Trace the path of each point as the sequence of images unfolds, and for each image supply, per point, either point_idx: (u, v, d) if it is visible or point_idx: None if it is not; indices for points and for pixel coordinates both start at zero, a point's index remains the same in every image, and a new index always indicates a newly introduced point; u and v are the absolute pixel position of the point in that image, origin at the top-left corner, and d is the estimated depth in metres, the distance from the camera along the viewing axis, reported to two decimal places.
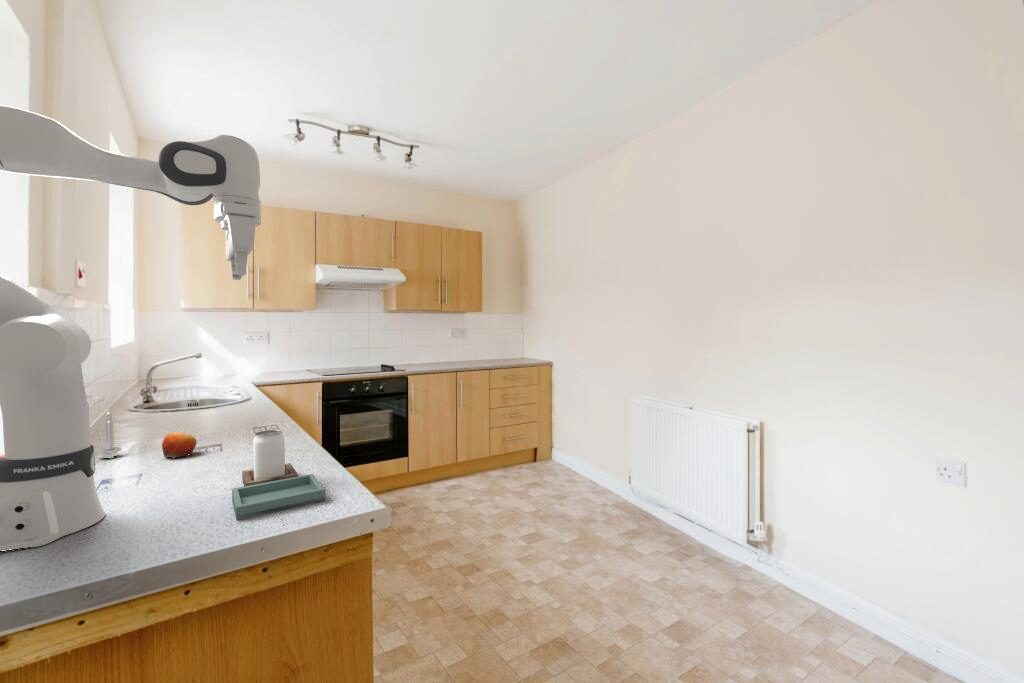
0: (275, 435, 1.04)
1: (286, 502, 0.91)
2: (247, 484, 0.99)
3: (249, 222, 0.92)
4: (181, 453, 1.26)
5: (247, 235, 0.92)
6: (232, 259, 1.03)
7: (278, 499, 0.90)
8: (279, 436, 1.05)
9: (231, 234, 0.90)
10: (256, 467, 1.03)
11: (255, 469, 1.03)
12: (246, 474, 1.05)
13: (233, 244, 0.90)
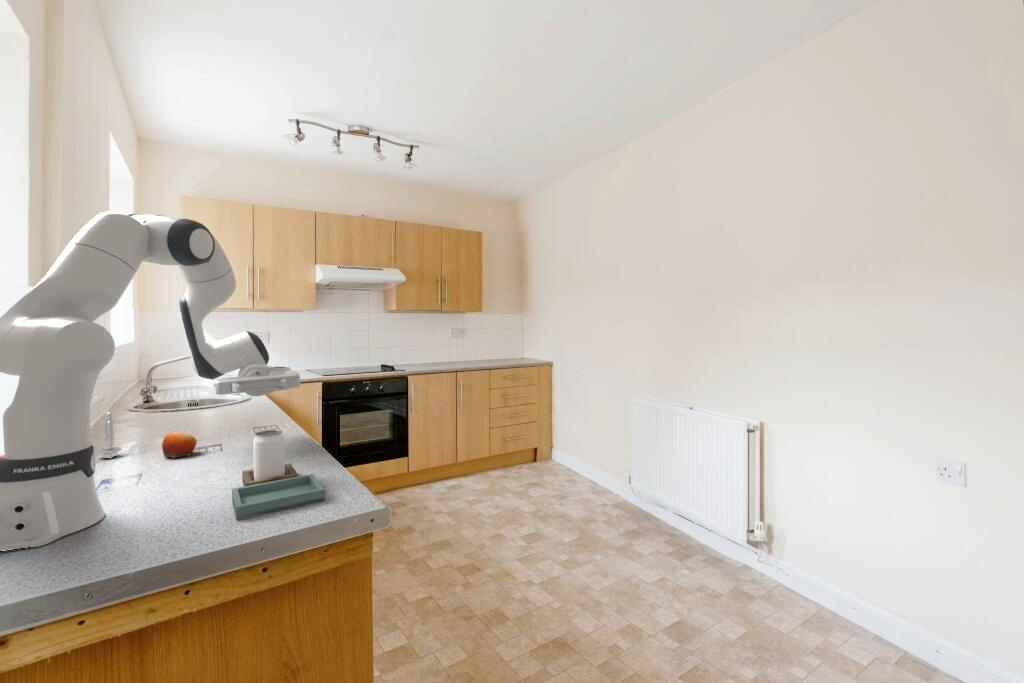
0: (275, 435, 1.04)
1: (286, 502, 0.91)
2: (247, 484, 0.99)
3: None
4: (181, 453, 1.26)
5: None
6: (237, 383, 1.18)
7: (278, 499, 0.90)
8: (279, 436, 1.05)
9: (297, 373, 1.29)
10: (256, 467, 1.03)
11: (255, 469, 1.03)
12: (246, 474, 1.05)
13: (298, 374, 1.27)
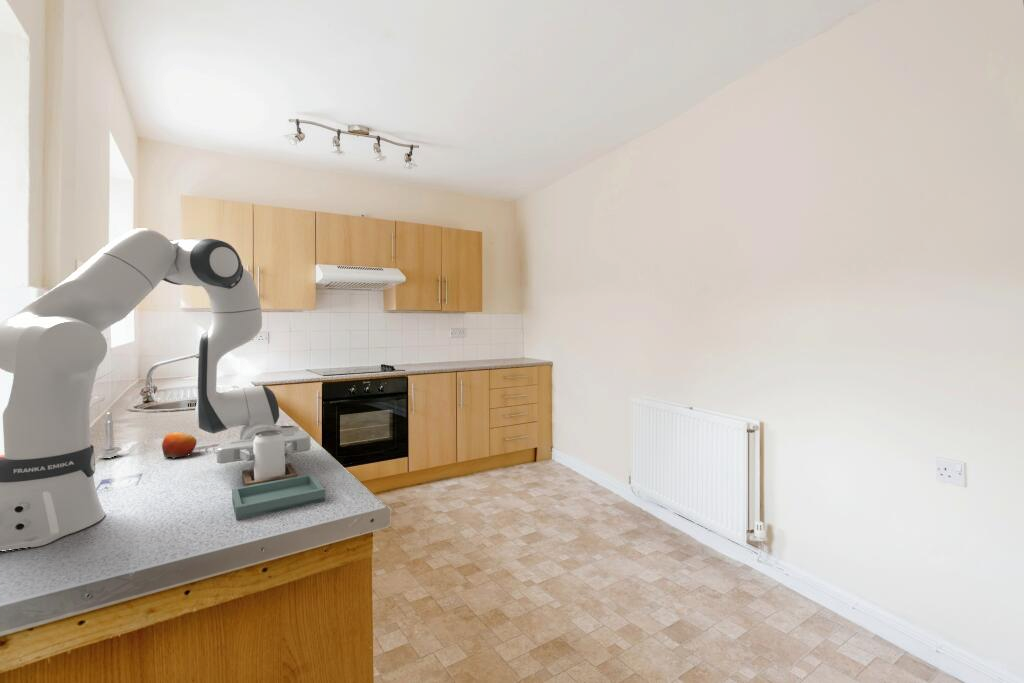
0: (275, 435, 1.04)
1: (286, 502, 0.91)
2: (247, 484, 0.99)
3: None
4: (181, 453, 1.26)
5: None
6: (246, 449, 1.06)
7: (278, 499, 0.90)
8: (279, 435, 1.05)
9: None
10: (256, 467, 1.03)
11: (255, 469, 1.03)
12: (246, 474, 1.05)
13: (309, 436, 1.15)
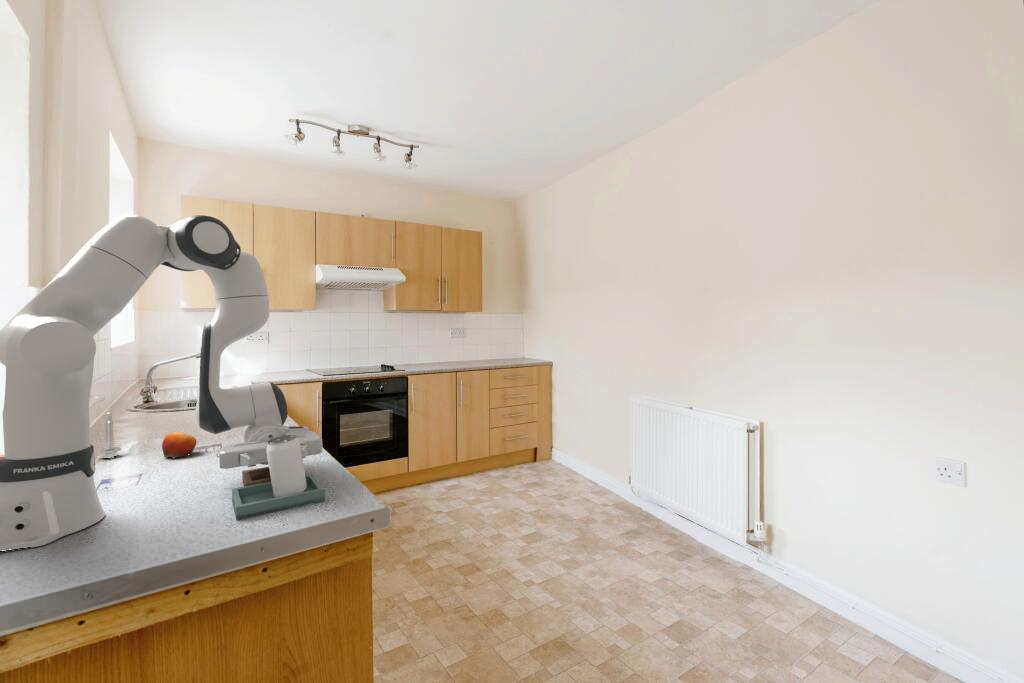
0: (291, 440, 0.94)
1: (286, 502, 0.91)
2: (247, 484, 0.99)
3: None
4: (181, 453, 1.26)
5: None
6: (247, 454, 0.95)
7: (278, 499, 0.90)
8: (295, 440, 0.95)
9: (318, 435, 1.06)
10: (275, 478, 0.93)
11: (274, 480, 0.93)
12: (246, 474, 1.05)
13: (320, 438, 1.04)
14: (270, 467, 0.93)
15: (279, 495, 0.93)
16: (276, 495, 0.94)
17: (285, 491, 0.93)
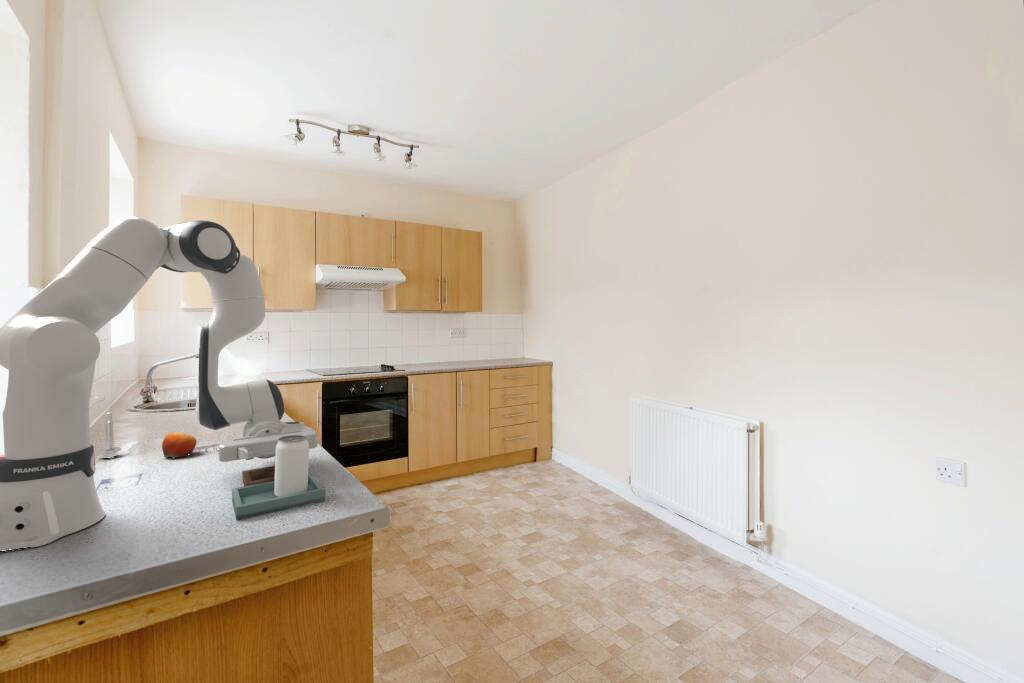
0: (302, 441, 0.95)
1: (286, 502, 0.91)
2: (247, 484, 0.99)
3: None
4: (181, 453, 1.26)
5: None
6: (245, 447, 0.99)
7: (278, 499, 0.90)
8: (305, 442, 0.96)
9: (314, 430, 1.10)
10: (279, 476, 0.93)
11: (278, 478, 0.94)
12: (246, 474, 1.05)
13: (316, 433, 1.09)
14: (276, 465, 0.94)
15: (281, 494, 0.93)
16: (277, 494, 0.94)
17: (287, 491, 0.93)
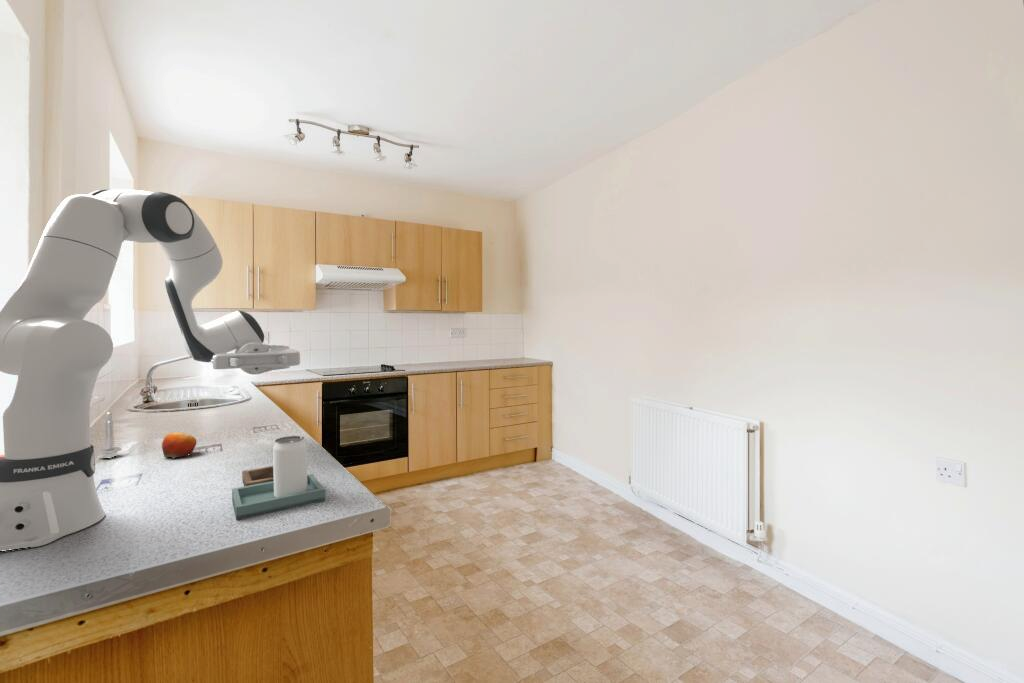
0: (298, 441, 0.95)
1: (286, 502, 0.91)
2: (247, 484, 0.99)
3: None
4: (181, 453, 1.26)
5: None
6: (235, 358, 1.15)
7: (278, 499, 0.90)
8: (302, 442, 0.96)
9: None
10: (277, 477, 0.93)
11: (276, 479, 0.94)
12: (246, 474, 1.05)
13: (298, 352, 1.24)
14: (274, 466, 0.94)
15: (280, 495, 0.93)
16: (276, 495, 0.94)
17: (286, 492, 0.93)
